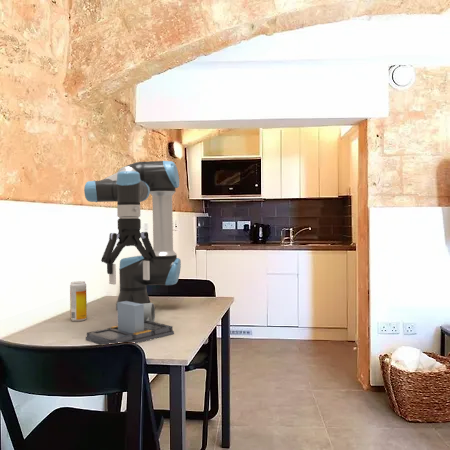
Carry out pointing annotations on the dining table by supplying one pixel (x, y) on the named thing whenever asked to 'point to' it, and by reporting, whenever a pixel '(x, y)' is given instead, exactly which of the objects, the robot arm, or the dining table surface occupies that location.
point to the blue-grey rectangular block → (130, 316)
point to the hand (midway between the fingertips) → (130, 282)
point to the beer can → (78, 301)
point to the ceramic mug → (149, 312)
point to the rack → (129, 334)
